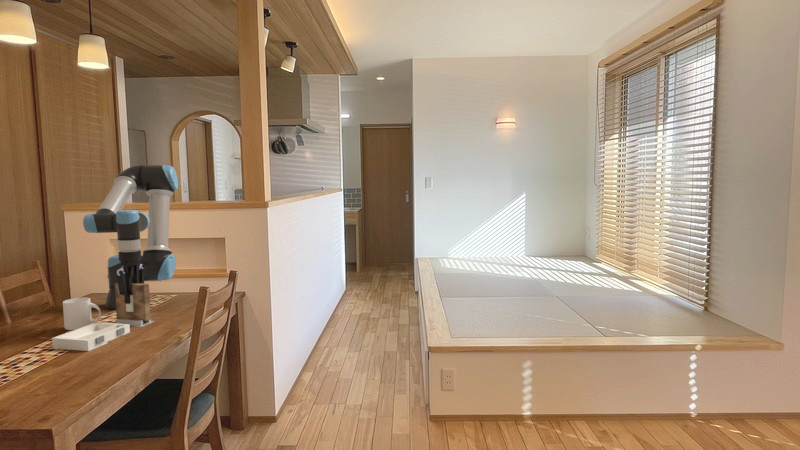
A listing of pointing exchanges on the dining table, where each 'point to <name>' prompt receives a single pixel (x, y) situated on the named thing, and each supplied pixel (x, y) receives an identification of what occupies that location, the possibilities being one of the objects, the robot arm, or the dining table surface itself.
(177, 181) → the robot arm
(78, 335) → the white tray
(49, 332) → the dining table surface
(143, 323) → the rack
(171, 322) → the dining table surface
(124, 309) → the door
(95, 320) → the mug
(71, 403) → the dining table surface
